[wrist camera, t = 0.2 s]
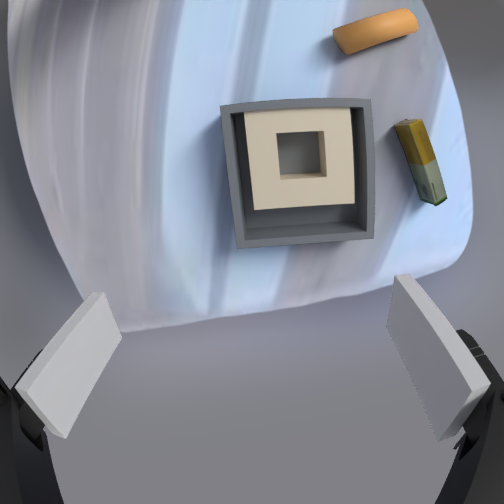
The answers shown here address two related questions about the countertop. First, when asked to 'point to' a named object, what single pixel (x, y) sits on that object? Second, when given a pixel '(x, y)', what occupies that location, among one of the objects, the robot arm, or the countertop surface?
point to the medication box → (421, 160)
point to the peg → (375, 30)
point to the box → (300, 170)
